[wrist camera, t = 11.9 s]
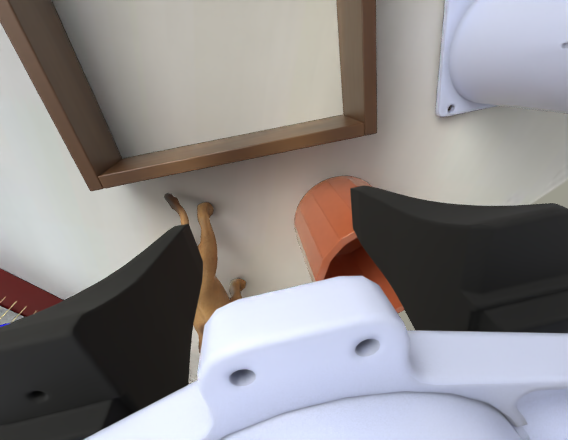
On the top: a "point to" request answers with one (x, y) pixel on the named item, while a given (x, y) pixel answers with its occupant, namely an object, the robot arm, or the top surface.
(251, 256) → the top surface
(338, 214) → the cup
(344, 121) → the wooden frame
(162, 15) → the top surface
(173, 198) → the lion figurine
